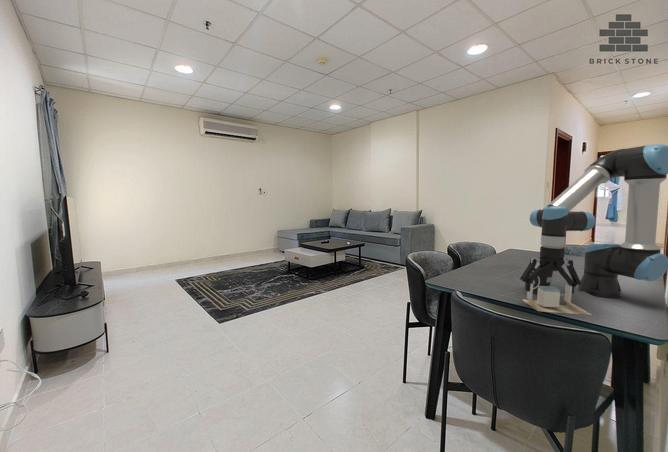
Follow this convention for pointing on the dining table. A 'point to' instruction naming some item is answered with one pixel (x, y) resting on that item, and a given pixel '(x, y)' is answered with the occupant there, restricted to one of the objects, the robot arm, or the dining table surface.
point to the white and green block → (548, 296)
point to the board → (557, 308)
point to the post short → (562, 299)
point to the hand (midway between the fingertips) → (548, 300)
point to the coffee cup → (541, 279)
